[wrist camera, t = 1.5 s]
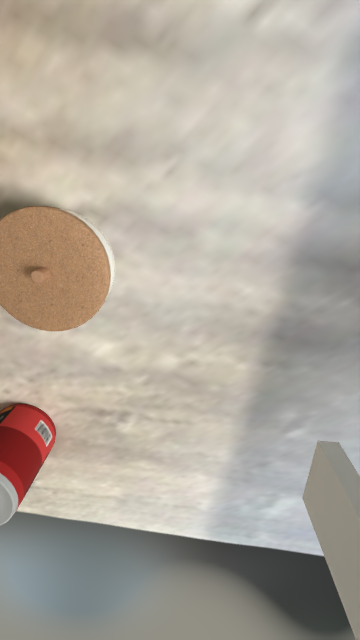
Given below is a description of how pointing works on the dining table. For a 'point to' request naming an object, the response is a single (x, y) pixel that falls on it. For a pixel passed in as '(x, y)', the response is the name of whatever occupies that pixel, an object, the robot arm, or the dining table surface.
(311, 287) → the dining table surface
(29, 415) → the canned food
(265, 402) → the dining table surface
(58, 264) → the lidded jar
